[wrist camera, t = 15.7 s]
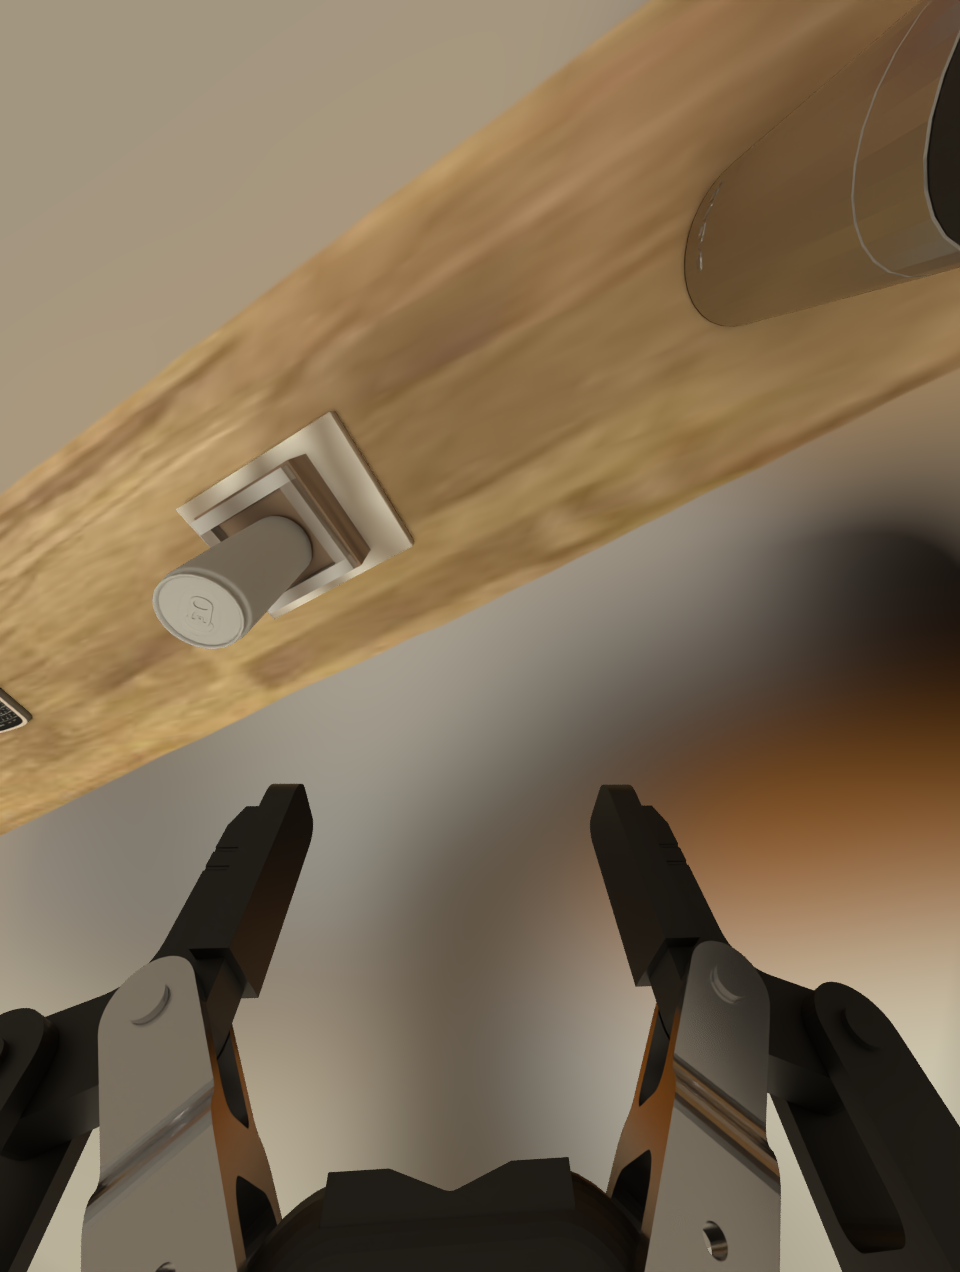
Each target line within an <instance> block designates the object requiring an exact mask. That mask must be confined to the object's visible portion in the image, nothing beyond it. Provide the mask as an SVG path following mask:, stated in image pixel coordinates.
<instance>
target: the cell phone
mask: <svg viewBox="0 0 960 1272" xmlns="http://www.w3.org/2000/svg"><path fill="white" fill-rule="evenodd" d="M30 719H31V715H30V713H29V712H28V711H27V710H25V709H24V708H23V707H22V706H21V705H20V704H18V703H17V702H16V701H15V700H14V699H12V698H11V697H10V696H9V695H8V694H7V693H5V692H4V691H3V690H2V689H1V688H0V733H2V732H6V731H10V730H13V729H16V728H19V727H22V726H24V725H25V724H27V723H28V722H29V721H30Z"/></svg>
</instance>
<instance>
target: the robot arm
mask: <svg viewBox="0 0 960 1272" xmlns="http://www.w3.org/2000/svg"><path fill="white" fill-rule="evenodd" d="M959 267H960V0H921V1H920V2H919V3H918V4H917V5H916V6H914V7H913V8H912V9H911V10H910V11H909V12H908V13H906V14H905V15H904V16H903V17H902V18H901V19H899V20H898V21H897V22H896V23H895V24H894V25H893V26H891V27H890V28H889V29H888V30H887V31H886V32H884V33H883V34H882V35H881V36H880V37H879V38H877V39H876V40H875V41H874V42H873V43H872V44H871V45H869V46H868V47H867V48H866V49H865V50H864V51H862V52H861V53H860V54H859V55H858V56H857V57H855V58H854V59H853V60H852V61H851V62H850V63H849V64H847V65H846V66H845V67H844V68H843V69H842V70H840V71H839V72H838V73H837V74H836V75H835V76H834V77H832V78H831V79H830V80H829V81H828V82H827V83H825V84H824V85H823V86H822V87H821V88H820V89H818V90H817V91H816V92H815V93H814V94H813V95H812V96H810V97H809V98H808V99H807V100H806V101H805V102H803V103H802V104H801V105H800V106H799V107H798V108H797V109H795V110H794V111H793V112H792V113H791V114H790V115H788V116H787V117H786V118H785V119H784V120H783V121H781V122H780V123H779V124H778V125H777V126H776V127H774V128H773V129H772V130H771V131H770V132H768V133H767V134H766V135H765V136H764V137H763V138H762V139H760V140H759V141H758V142H757V143H756V144H755V145H753V146H752V147H751V148H750V149H749V150H748V151H747V152H745V153H744V154H743V155H742V156H741V157H740V158H738V159H737V160H736V161H735V162H734V163H733V164H731V165H730V166H729V167H728V168H727V169H726V170H725V171H724V172H723V174H722V175H721V176H720V177H719V178H718V179H717V180H716V181H715V182H714V184H713V185H712V187H711V188H710V190H709V191H708V193H707V195H706V196H705V198H704V199H703V201H702V203H701V205H700V207H699V209H698V212H697V214H696V216H695V218H694V221H693V224H692V227H691V230H690V234H689V237H688V242H687V249H686V255H685V276H686V281H687V287H688V291H689V294H690V296H691V299H692V301H693V304H694V305H695V306H696V308H697V309H698V310H699V312H700V313H701V314H702V315H703V316H704V317H706V318H707V319H708V320H709V321H711V322H713V323H716V324H719V325H721V326H739V325H744V324H748V323H752V322H756V321H760V320H764V319H767V318H771V317H776V316H780V315H784V314H787V313H791V312H795V311H799V310H802V309H806V308H810V307H814V306H817V305H821V304H825V303H829V302H832V301H836V300H840V299H844V298H848V297H851V296H855V295H859V294H863V293H866V292H870V291H874V290H878V289H881V288H885V287H889V286H893V285H897V284H900V283H904V282H908V281H912V280H915V279H919V278H923V277H927V276H930V275H933V274H937V273H940V272H944V271H948V270H952V269H955V268H959ZM312 832H313V818H312V814H311V810H310V806H309V802H308V798H307V794H306V791H305V787H304V785H303V784H272V785H270V786H269V788H268V789H267V791H266V793H265V795H264V797H263V799H262V801H261V803H260V805H259V806H247V807H245V808H244V809H243V811H242V812H240V813H239V814H238V816H236V818H235V819H234V820H233V821H232V822H231V823H230V824H229V825H228V826H227V828H226V829H225V832H224V833H223V835H222V837H221V839H220V841H219V842H218V844H217V846H216V850H215V852H213V853H212V855H211V857H210V859H209V861H208V863H207V864H206V869H205V870H204V871H203V872H202V874H201V875H200V877H199V879H198V881H197V883H196V885H195V886H194V888H193V890H192V892H191V894H190V896H189V897H188V899H187V901H186V903H185V905H184V907H183V908H182V910H181V912H180V914H179V916H178V918H177V919H176V921H175V923H174V925H173V927H172V929H171V931H170V932H169V934H168V936H167V938H166V940H165V942H164V943H163V945H162V946H161V948H160V950H159V951H158V953H157V954H156V955H155V956H154V958H153V959H152V960H151V961H150V962H149V963H148V964H147V965H145V966H143V967H142V968H140V969H139V970H138V971H136V972H135V973H134V974H133V975H131V976H130V977H129V978H128V979H127V980H126V981H125V982H124V983H123V984H122V985H121V986H120V987H119V988H117V989H115V990H113V991H112V992H109V993H107V994H105V995H102V996H100V997H97V998H95V999H92V1000H89V1001H87V1002H84V1003H81V1004H79V1005H76V1006H73V1007H71V1008H68V1009H65V1010H63V1011H60V1012H57V1013H55V1014H52V1015H49V1016H47V1017H44V1016H43V1015H41V1014H40V1013H38V1012H37V1011H36V1010H33V1009H30V1008H21V1009H15V1010H12V1011H9V1012H6V1013H3V1014H1V1015H0V1272H27V1270H28V1268H29V1266H30V1264H31V1261H32V1259H33V1257H34V1255H35V1253H36V1250H37V1248H38V1246H39V1244H40V1242H41V1240H42V1238H43V1236H44V1233H45V1231H46V1229H47V1227H48V1225H49V1223H50V1220H51V1218H52V1216H53V1214H54V1212H55V1210H56V1207H57V1205H58V1203H59V1201H60V1199H61V1197H62V1194H63V1192H64V1190H65V1188H66V1186H67V1183H68V1181H69V1179H70V1177H71V1175H72V1173H73V1171H74V1169H75V1166H76V1164H77V1162H78V1160H79V1158H80V1156H81V1153H82V1151H83V1149H84V1147H85V1145H86V1143H87V1140H88V1138H89V1136H90V1134H91V1132H92V1130H93V1129H95V1128H97V1127H99V1126H100V1178H99V1183H98V1186H97V1189H96V1191H95V1192H94V1194H93V1195H92V1196H91V1198H90V1199H89V1201H88V1204H87V1207H86V1211H85V1215H84V1221H83V1227H82V1241H81V1272H780V1211H781V1210H780V1207H781V1185H780V1174H779V1168H778V1163H777V1160H776V1156H775V1155H774V1152H773V1151H772V1150H771V1149H770V1147H769V1145H768V1142H767V1138H766V1106H767V1093H769V1094H770V1095H771V1098H772V1100H773V1103H774V1105H775V1108H776V1110H777V1113H778V1115H779V1118H780V1120H781V1123H782V1125H783V1127H784V1130H785V1132H786V1135H787V1137H788V1140H789V1142H790V1145H791V1147H792V1149H793V1152H794V1154H795V1157H796V1159H797V1162H798V1164H799V1167H800V1169H801V1171H802V1174H803V1176H804V1179H805V1181H806V1184H807V1186H808V1189H809V1191H810V1194H811V1196H812V1199H813V1201H814V1203H815V1206H816V1208H817V1211H818V1213H819V1216H820V1218H821V1221H822V1223H823V1226H824V1228H825V1230H826V1233H827V1235H828V1238H829V1240H830V1243H831V1245H832V1248H833V1250H834V1252H835V1255H836V1257H837V1260H838V1262H839V1265H840V1267H841V1270H842V1272H960V1127H959V1125H958V1124H957V1122H956V1121H955V1119H954V1117H953V1116H952V1114H951V1113H950V1111H949V1110H948V1108H947V1107H946V1105H945V1104H944V1102H943V1101H942V1099H941V1098H940V1096H939V1095H938V1093H937V1091H936V1090H935V1088H934V1087H933V1085H932V1084H931V1082H930V1081H929V1079H928V1078H927V1076H926V1074H925V1073H924V1071H923V1070H922V1068H921V1067H920V1065H919V1064H918V1062H917V1061H916V1059H915V1058H914V1056H913V1055H912V1053H911V1051H910V1050H909V1048H908V1047H907V1045H906V1044H905V1042H904V1041H903V1039H902V1038H901V1036H900V1035H899V1033H898V1032H897V1030H896V1029H895V1027H894V1026H893V1024H892V1023H891V1022H890V1020H889V1019H888V1018H887V1017H886V1016H885V1014H884V1013H883V1012H882V1011H881V1010H880V1009H879V1008H878V1007H877V1006H876V1005H875V1004H874V1003H872V1002H871V1001H870V1000H869V999H868V998H866V997H865V996H864V995H862V994H861V993H859V992H858V991H856V990H854V989H853V988H851V987H849V986H846V985H844V984H841V983H837V982H826V983H823V984H821V985H820V986H819V987H818V988H817V989H815V990H811V989H808V988H805V987H802V986H799V985H797V984H794V983H791V982H788V981H785V980H782V979H780V978H777V977H774V976H771V975H769V974H766V973H764V972H762V971H760V970H758V969H756V968H755V967H754V966H753V965H752V964H751V963H750V962H749V961H748V960H747V959H746V958H745V957H744V956H743V955H742V954H741V953H739V952H738V951H737V950H735V949H734V948H732V946H730V944H729V943H728V941H727V940H726V938H725V937H724V936H723V934H722V932H721V930H720V928H719V926H718V924H717V922H716V920H715V918H714V916H713V914H712V912H711V910H710V908H709V906H708V904H707V902H706V900H705V898H704V896H703V894H702V891H701V889H700V887H699V885H698V883H697V881H696V879H695V877H694V875H693V873H692V871H691V869H690V867H689V865H687V864H686V859H685V857H684V855H683V853H682V851H681V849H680V848H679V847H678V843H677V841H676V839H675V837H674V835H673V833H672V831H671V829H670V827H669V824H668V823H667V822H666V821H665V820H664V819H663V817H662V816H661V815H660V814H659V813H658V812H657V811H656V810H655V809H654V808H653V807H652V806H641V804H640V801H639V799H638V797H637V794H636V792H635V790H634V789H633V787H632V786H631V785H602V786H601V787H600V790H599V793H598V796H597V800H596V803H595V806H594V809H593V812H592V816H591V820H590V832H591V838H592V843H593V846H594V849H595V853H596V856H597V859H598V863H599V866H600V869H601V873H602V876H603V879H604V883H605V886H606V889H607V893H608V896H609V899H610V903H611V906H612V909H613V913H614V915H615V919H616V923H617V926H618V929H619V933H620V935H621V939H622V942H623V945H624V949H625V953H626V956H627V959H628V963H629V966H630V969H631V972H632V976H633V979H634V982H635V986H652V989H653V993H654V995H655V999H656V1002H657V1003H656V1006H655V1009H654V1014H653V1018H652V1022H651V1026H650V1031H649V1035H648V1040H647V1043H646V1048H645V1052H644V1056H643V1061H642V1065H641V1069H640V1074H639V1078H638V1082H637V1087H636V1091H635V1095H634V1099H633V1103H632V1106H631V1109H630V1112H629V1115H628V1117H627V1120H626V1122H625V1125H624V1127H623V1130H622V1133H621V1136H620V1139H619V1142H618V1146H617V1150H616V1154H615V1158H614V1162H613V1166H612V1170H611V1174H610V1178H609V1182H608V1187H607V1191H606V1193H605V1192H603V1191H602V1190H601V1189H600V1188H598V1187H597V1186H596V1185H595V1184H593V1183H592V1182H591V1181H589V1180H587V1179H585V1178H584V1177H582V1176H580V1175H579V1174H577V1173H574V1172H572V1171H570V1165H569V1158H568V1157H563V1158H547V1159H533V1160H517V1161H510V1162H508V1163H506V1164H504V1165H502V1166H501V1167H499V1168H497V1169H495V1170H493V1171H491V1172H489V1173H487V1174H485V1175H483V1176H481V1177H479V1178H478V1179H476V1180H474V1181H472V1182H470V1183H468V1184H466V1185H464V1186H462V1187H461V1188H458V1189H456V1190H454V1191H446V1190H442V1189H440V1188H437V1187H435V1186H432V1185H430V1184H427V1183H425V1182H422V1181H419V1180H417V1179H414V1178H412V1177H409V1176H407V1175H404V1174H402V1173H399V1172H396V1171H394V1170H391V1169H376V1170H361V1171H345V1172H329V1173H328V1178H327V1184H326V1187H324V1188H322V1189H320V1190H319V1191H317V1192H315V1193H314V1194H312V1195H311V1196H310V1197H308V1198H307V1199H305V1200H304V1201H302V1202H301V1203H300V1204H299V1205H298V1206H296V1207H295V1208H294V1209H293V1210H292V1211H291V1212H290V1213H289V1214H288V1215H286V1216H285V1217H284V1218H283V1219H282V1216H281V1213H280V1208H279V1203H278V1199H277V1195H276V1191H275V1186H274V1182H273V1178H272V1173H271V1170H270V1166H269V1163H268V1159H267V1156H266V1153H265V1150H264V1147H263V1144H262V1142H261V1140H260V1137H259V1135H258V1132H257V1129H256V1126H255V1122H254V1118H253V1113H252V1109H251V1105H250V1101H249V1096H248V1092H247V1087H246V1082H245V1078H244V1074H243V1069H242V1065H241V1060H240V1056H239V1052H238V1047H237V1043H236V1038H235V1035H234V1030H233V1025H232V1022H233V1019H234V1016H235V1014H236V1011H237V1008H238V1005H239V1003H240V999H241V998H258V997H259V994H260V991H261V988H262V985H263V982H264V979H265V976H266V973H267V970H268V967H269V964H270V961H271V958H272V955H273V952H274V949H275V946H276V943H277V940H278V938H279V934H280V932H281V929H282V926H283V922H284V919H285V916H286V914H287V911H288V908H289V904H290V902H291V899H292V896H293V893H294V890H295V887H296V884H297V881H298V878H299V875H300V872H301V869H302V866H303V863H304V860H305V857H306V854H307V851H308V848H309V845H310V842H311V837H312ZM709 1247H711V1249H712V1255H711V1254H710V1253H709V1251H708V1249H707V1248H709Z"/></svg>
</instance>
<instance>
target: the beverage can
mask: <svg viewBox="0 0 960 1272" xmlns="http://www.w3.org/2000/svg"><path fill="white" fill-rule="evenodd" d="M311 559H312V549H311V544H310V541H309V539H308V536H307V535H306V533H305V532H304V530H303V529H302V528H301V527H300V526H299V525H298V524H296V523H295V522H293V521H291V520H290V519H288V518H284V517H281V516H269V517H265V518H262V519H261V520H259V521H257V522H255V523H254V524H252V525H250V526H248V527H247V528H245V529H243V530H241V531H239V532H238V533H236V534H234V535H232V536H231V537H229V538H227V539H225V540H224V541H222V542H220V543H218V544H217V545H215V546H213V547H212V548H210V549H208V550H207V551H205V552H203V553H202V554H200V555H198V556H197V557H195V558H193V559H191V560H190V561H188V562H186V563H185V564H183V565H181V566H180V567H178V568H176V569H175V570H173V571H171V572H170V573H168V574H167V575H166V576H165V578H164V579H163V580H162V581H161V582H160V583H159V584H158V585H157V587H156V588H155V590H154V594H153V598H152V599H153V608H154V610H155V613H156V615H157V618H158V619H159V620H160V622H161V623H162V625H163V626H164V627H165V628H166V629H167V630H168V631H169V632H170V633H171V634H172V635H174V636H175V637H177V638H179V639H180V640H182V641H183V642H186V643H188V644H190V645H193V646H196V647H201V648H205V649H219V648H223V647H227V646H229V645H231V644H233V643H235V642H236V641H237V640H239V639H241V638H243V637H244V636H245V635H246V634H247V633H248V631H249V630H250V629H251V628H252V627H253V626H254V625H255V624H256V623H257V622H258V621H259V619H260V618H261V617H262V616H263V615H264V614H265V613H266V612H267V611H268V610H269V608H270V607H271V606H272V605H273V604H274V603H275V602H276V601H277V600H278V599H279V597H280V596H281V595H282V594H283V593H284V592H285V591H286V590H287V589H288V588H289V586H290V585H291V584H292V583H293V582H294V581H295V580H296V579H297V578H298V577H299V575H300V574H301V573H302V572H303V571H304V570H305V569H306V568H307V567H308V566H309V564H310V561H311Z"/></svg>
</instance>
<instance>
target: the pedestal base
mask: <svg viewBox="0 0 960 1272" xmlns="http://www.w3.org/2000/svg"><path fill="white" fill-rule="evenodd" d="M176 511H177V512H178V513H179V514H180V515H181V516H182V517H183V518H184V519H185V521H186V522H187V523H188V524H189V525H190V526H191V527H192V528H193V529H194V531H195V532H196V533H197V534H198V535H199V536H200V537H201V538H202V539H203V541H204V542H205V543H206V544H207V545H208V546H209V547H210V548H212V547H213V546H215V545H217V544H218V543H220V542H222V541H224V540H225V539H227V538H229V537H231V536H232V535H234V534H236V533H238V532H239V531H241V530H243V529H245V528H247V527H248V526H250V525H252V524H254V523H255V522H257V521H259V520H261V519H262V518H265V517H269V516H281V517H284V518H288V519H290V520H291V521H293V522H295V523H296V524H298V525H299V526H300V527H301V528H302V529H303V530H304V532H305V533H306V535H307V536H308V539H309V541H310V544H311V549H312V559H311V561H310V564H309V566H308V567H307V568H306V569H305V570H304V571H303V572H302V573H301V574H300V575H299V577H298V578H297V579H296V580H295V581H294V582H293V583H292V584H291V585H290V586H289V588H288V589H287V590H286V591H285V592H284V593H283V594H282V595H281V596H280V597H279V599H278V600H277V601H276V602H275V603H274V604H273V605H272V606H271V607H270V608H269V610H268V611H267V612H268V613H269V614H270V615H271V616H272V617H273V618H274V619H276V618H278V617H280V616H282V615H283V614H285V613H287V612H289V611H291V610H293V609H295V608H297V607H299V606H300V605H302V604H304V603H306V602H308V601H310V600H312V599H314V598H316V597H317V596H319V595H321V594H323V593H325V592H327V591H329V590H331V589H333V588H334V587H336V586H338V585H340V584H342V583H344V582H346V581H348V580H350V579H351V578H353V577H355V576H357V575H359V574H361V573H363V572H365V571H367V570H368V569H370V568H372V567H374V566H376V565H378V564H380V563H382V562H383V561H385V560H387V559H389V558H391V557H393V556H395V555H397V554H399V553H400V552H402V551H404V550H406V549H408V548H410V547H412V546H413V543H414V540H413V539H412V537H411V535H410V534H409V532H408V531H407V529H406V527H405V526H404V524H403V522H402V521H401V519H400V517H399V516H398V514H397V513H396V511H395V509H394V508H393V506H392V504H391V503H390V501H389V499H388V498H387V496H386V495H385V493H384V491H383V490H382V488H381V486H380V485H379V483H378V481H377V480H376V478H375V477H374V475H373V473H372V472H371V470H370V468H369V467H368V465H367V463H366V462H365V460H364V458H363V457H362V455H361V454H360V452H359V450H358V449H357V447H356V445H355V444H354V442H353V440H352V439H351V437H350V436H349V434H348V432H347V431H346V429H345V427H344V426H343V424H342V422H341V421H340V419H339V418H338V416H337V414H336V413H335V411H333V412H328V413H327V414H325V415H324V416H322V417H321V418H319V419H317V420H316V421H314V422H313V423H311V424H310V425H308V426H307V427H305V428H303V429H302V430H300V431H299V432H297V433H296V434H294V435H292V436H291V437H289V438H288V439H286V440H285V441H283V442H281V443H280V444H278V445H277V446H275V447H274V448H272V449H270V450H269V451H267V452H266V453H264V454H263V455H261V456H259V457H258V458H256V459H255V460H253V461H252V462H250V463H248V464H247V465H245V466H244V467H242V468H241V469H239V470H238V471H236V472H234V473H233V474H231V475H230V476H228V477H227V478H225V479H223V480H222V481H220V482H219V483H217V484H216V485H214V486H212V487H211V488H209V489H208V490H206V491H205V492H203V493H201V494H200V495H198V496H197V497H195V498H194V499H192V500H190V501H189V502H187V503H186V504H184V505H183V506H181V507H180V508H178V509H176Z"/></svg>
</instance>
